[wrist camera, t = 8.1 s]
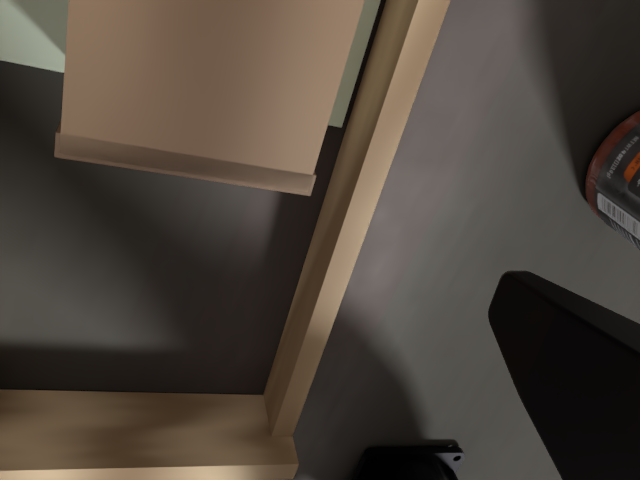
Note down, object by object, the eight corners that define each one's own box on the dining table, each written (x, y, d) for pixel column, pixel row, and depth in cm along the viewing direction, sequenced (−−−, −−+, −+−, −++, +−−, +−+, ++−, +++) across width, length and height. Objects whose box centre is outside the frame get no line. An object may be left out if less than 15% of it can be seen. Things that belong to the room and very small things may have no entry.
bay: (427, -39, 18) (485, -23, 15) (278, 409, 28) (293, 479, 25) (-68, -201, 14) (-140, -227, 10) (-43, 405, 23) (-76, 490, 20)
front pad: (392, -51, 18) (395, -50, 18) (339, 124, 21) (341, 127, 21) (-8, -181, 14) (-12, -182, 14) (-8, 55, 17) (-10, 58, 17)
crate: (321, -76, 17) (387, -60, 12) (273, 118, 20) (310, 196, 15) (102, -148, 15) (73, -165, 10) (84, 80, 18) (54, 156, 13)
